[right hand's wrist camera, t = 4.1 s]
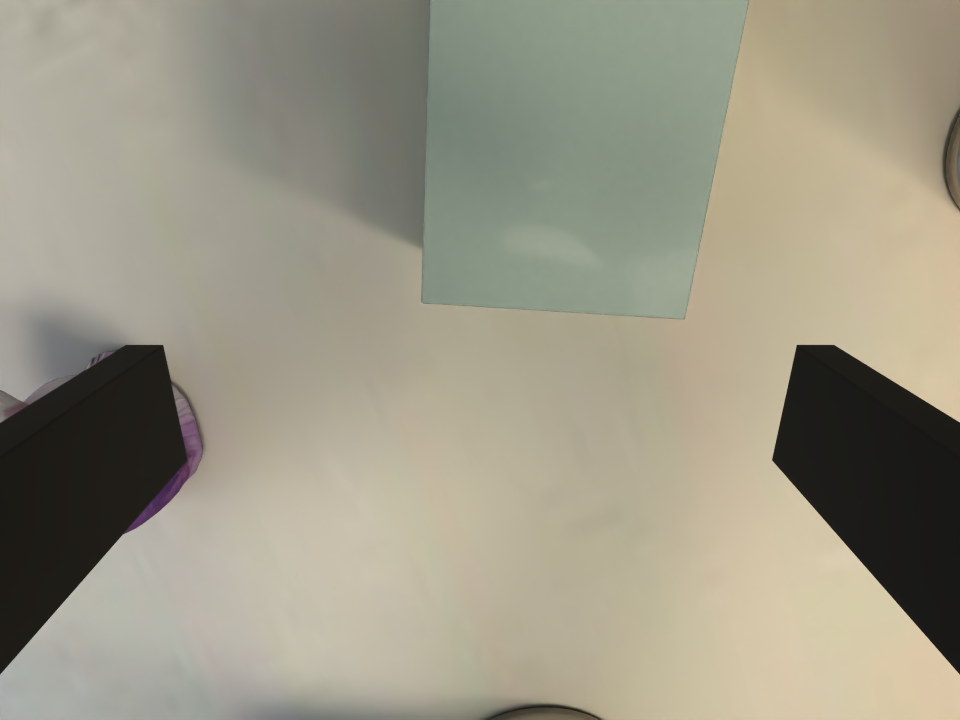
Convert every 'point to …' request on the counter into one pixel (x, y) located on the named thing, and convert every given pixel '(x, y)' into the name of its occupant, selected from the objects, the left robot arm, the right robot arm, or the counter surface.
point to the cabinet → (573, 150)
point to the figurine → (6, 406)
